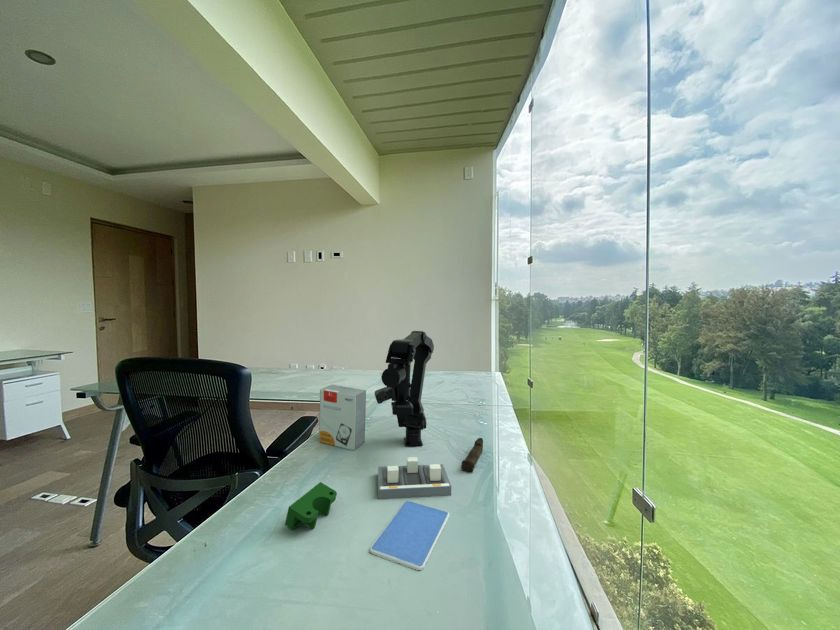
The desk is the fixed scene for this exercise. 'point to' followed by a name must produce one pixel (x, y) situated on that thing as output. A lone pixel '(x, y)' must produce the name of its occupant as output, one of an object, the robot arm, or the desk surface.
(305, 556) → the desk surface
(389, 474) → the tab
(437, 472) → the tab
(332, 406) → the hard drive box
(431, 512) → the tablet computer
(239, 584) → the desk surface
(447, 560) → the desk surface
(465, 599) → the desk surface
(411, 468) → the tab
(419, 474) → the switch panel
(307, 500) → the clamp
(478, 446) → the brown wooden log
